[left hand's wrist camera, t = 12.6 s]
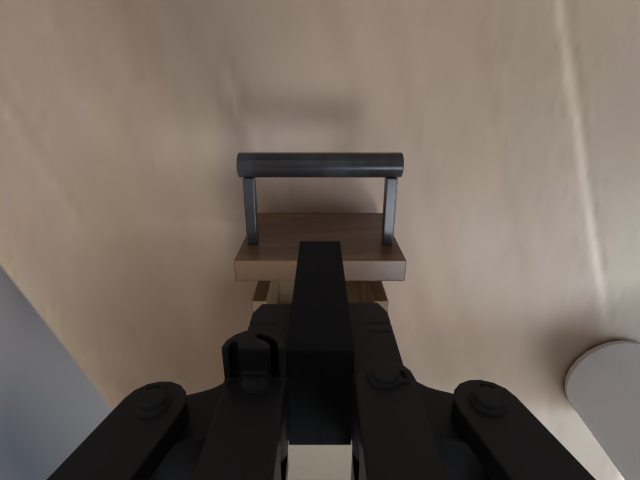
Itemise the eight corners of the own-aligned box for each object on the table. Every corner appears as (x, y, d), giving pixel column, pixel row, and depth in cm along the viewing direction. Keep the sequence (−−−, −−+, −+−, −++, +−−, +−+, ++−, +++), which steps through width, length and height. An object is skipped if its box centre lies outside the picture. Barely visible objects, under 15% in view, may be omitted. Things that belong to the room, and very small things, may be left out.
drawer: (253, 139, 26) (225, 160, 18) (387, 139, 26) (415, 160, 18) (268, 390, 34) (252, 480, 26) (371, 390, 34) (387, 480, 26)
